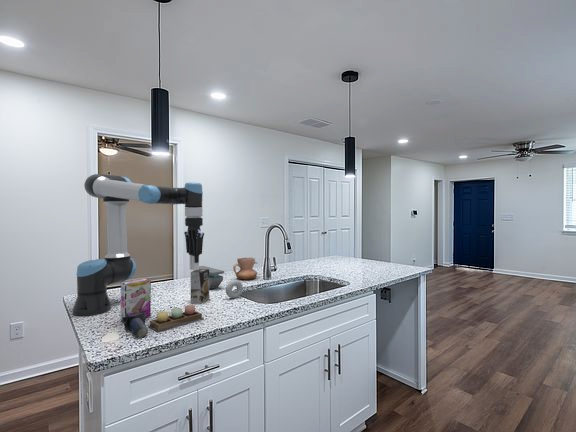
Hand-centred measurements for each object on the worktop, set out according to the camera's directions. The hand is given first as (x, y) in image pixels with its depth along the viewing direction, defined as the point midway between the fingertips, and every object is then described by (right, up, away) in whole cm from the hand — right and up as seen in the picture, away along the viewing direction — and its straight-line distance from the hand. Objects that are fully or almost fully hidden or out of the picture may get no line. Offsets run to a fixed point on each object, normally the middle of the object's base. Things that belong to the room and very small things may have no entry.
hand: (194, 269), depth 140 cm
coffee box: (-3, -20, +21) cm, 30 cm away
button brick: (0, -18, -6) cm, 18 cm away
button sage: (-4, -18, -10) cm, 21 cm away
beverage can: (-15, -21, -20) cm, 33 cm away
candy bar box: (-24, -21, -5) cm, 32 cm away
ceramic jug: (+13, -20, +75) cm, 79 cm away
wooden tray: (-4, -21, -10) cm, 23 cm away
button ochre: (-8, -18, -14) cm, 24 cm away
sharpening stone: (-8, -20, +53) cm, 57 cm away
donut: (+13, -20, +27) cm, 36 cm away
